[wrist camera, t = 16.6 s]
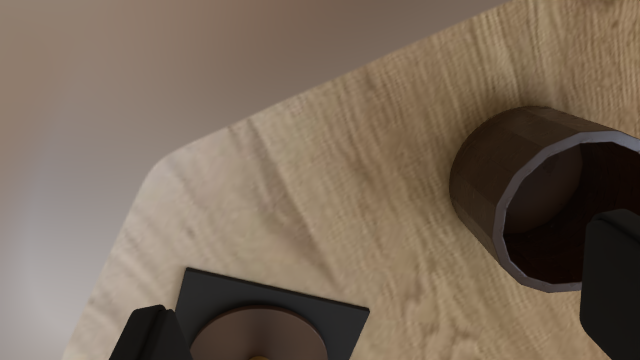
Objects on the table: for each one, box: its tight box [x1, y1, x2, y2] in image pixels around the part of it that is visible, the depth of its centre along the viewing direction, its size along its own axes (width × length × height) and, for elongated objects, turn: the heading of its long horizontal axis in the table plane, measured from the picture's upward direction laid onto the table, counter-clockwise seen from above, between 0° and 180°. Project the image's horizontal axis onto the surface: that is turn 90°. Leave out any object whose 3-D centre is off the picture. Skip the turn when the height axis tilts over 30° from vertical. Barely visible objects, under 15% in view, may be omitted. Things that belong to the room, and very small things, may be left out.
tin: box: [450, 106, 640, 293], centre depth 34 cm, size 13×13×8 cm
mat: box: [175, 268, 370, 360], centre depth 42 cm, size 18×16×1 cm
